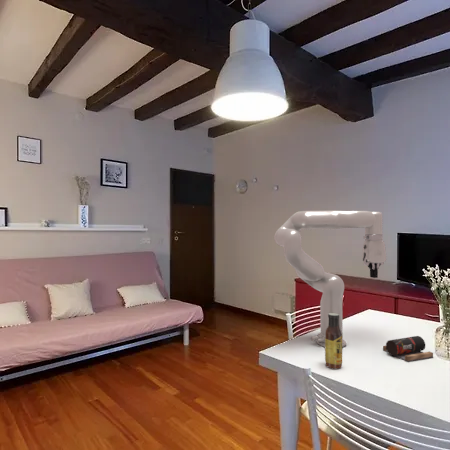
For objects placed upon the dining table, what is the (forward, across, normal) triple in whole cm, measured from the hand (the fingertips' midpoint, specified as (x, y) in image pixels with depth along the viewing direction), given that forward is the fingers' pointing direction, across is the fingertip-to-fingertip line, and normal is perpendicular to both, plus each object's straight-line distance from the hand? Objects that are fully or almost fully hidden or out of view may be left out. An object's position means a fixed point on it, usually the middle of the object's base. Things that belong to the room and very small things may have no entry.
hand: (373, 277), depth 161 cm
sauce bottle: (+29, -36, -19) cm, 50 cm away
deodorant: (+26, -8, -19) cm, 33 cm away
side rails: (+29, 0, -19) cm, 35 cm away
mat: (+29, 0, -19) cm, 35 cm away
